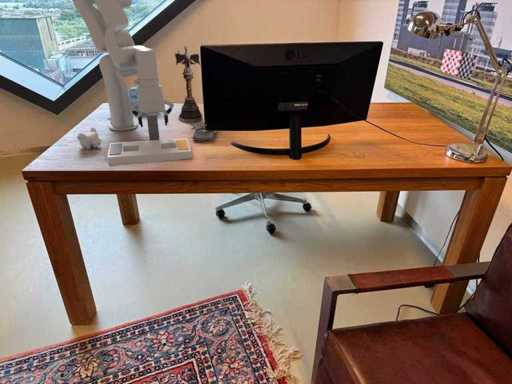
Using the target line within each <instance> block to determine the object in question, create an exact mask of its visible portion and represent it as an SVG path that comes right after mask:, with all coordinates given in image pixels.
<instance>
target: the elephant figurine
mask: <svg viewBox="0 0 512 384" xmlns="http://www.w3.org/2000/svg"><path fill="white" fill-rule="evenodd" d="M76 139H77V140H78V142H79V144H80V147H81V148H82V149H86V150H90V149H92V147H93V148H97V147H100V146H101V142H102V143H103V144H104V141H103V140H102V139H101V138H100V137H99V134H98V132H97V129H96V128H95V127H90V129H89V132H86V133H81V132H80V133H78V135H77V137H76Z"/></svg>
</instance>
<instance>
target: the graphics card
mask: <svg viewBox="0 0 512 384" xmlns="http://www.w3.org/2000/svg"><path fill="white" fill-rule="evenodd" d="M204 123H205V122H200V123H199V122H195V123H190V126H191V130H194V131H193V134H192V137H191V138H192V140H193V141H194V140H195V141H213V139H214V137H215V135H217V133H218V131H217V132H215V131H205V126H206V125H204Z"/></svg>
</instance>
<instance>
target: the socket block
mask: <svg viewBox="0 0 512 384" xmlns="http://www.w3.org/2000/svg"><path fill="white" fill-rule="evenodd" d="M191 149H192V148H191V147H190V143H189V141H188V138H187V137H181V138H166V139H160V140H150V139H149V140H137V141H133V140H132V141H120V142H118V141H117V142H110V143H109V147H108V151H107V163H108V166H113V165H124V164H139V163H140V164H141V163H150V162H151V163H152V162H163V161H175V160H188V159H189V160H190V159H192V150H191Z"/></svg>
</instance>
